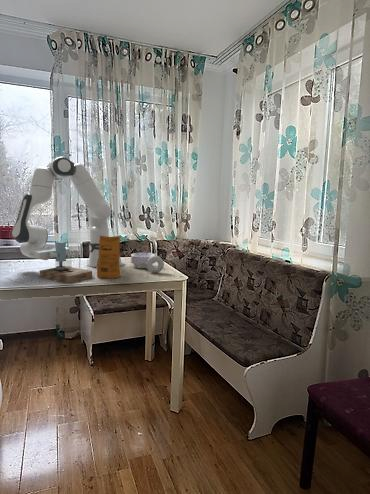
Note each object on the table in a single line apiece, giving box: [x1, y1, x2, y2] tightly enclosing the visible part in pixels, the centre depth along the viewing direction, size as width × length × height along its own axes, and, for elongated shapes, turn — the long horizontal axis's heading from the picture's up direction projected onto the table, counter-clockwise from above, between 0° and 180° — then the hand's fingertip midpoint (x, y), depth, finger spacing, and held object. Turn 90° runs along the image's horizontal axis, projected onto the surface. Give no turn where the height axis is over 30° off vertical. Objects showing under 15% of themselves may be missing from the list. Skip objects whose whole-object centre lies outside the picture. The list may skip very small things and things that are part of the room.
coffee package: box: [96, 235, 121, 279], centre depth 179 cm, size 10×12×22 cm
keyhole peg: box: [54, 241, 67, 271], centre depth 175 cm, size 5×5×14 cm
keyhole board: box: [38, 265, 93, 284], centre depth 175 cm, size 21×16×4 cm
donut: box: [146, 255, 165, 274], centre depth 193 cm, size 10×4×10 cm, turn 96°
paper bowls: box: [130, 252, 157, 269], centre depth 208 cm, size 15×15×8 cm
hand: (61, 254), depth 174 cm, fingers closed on keyhole peg, 4 cm apart
